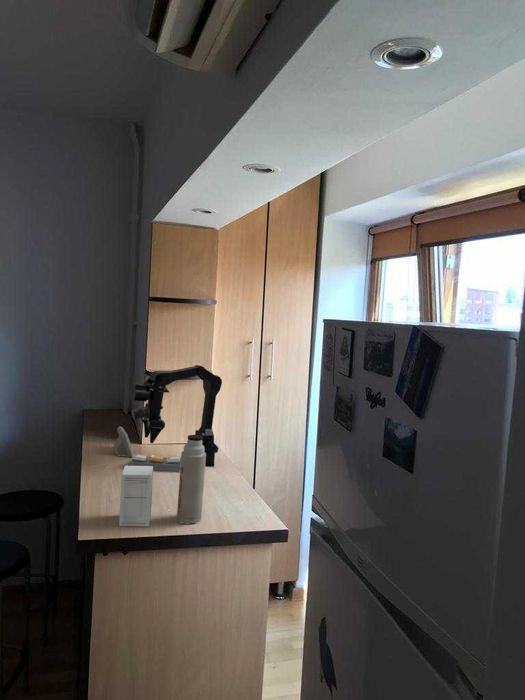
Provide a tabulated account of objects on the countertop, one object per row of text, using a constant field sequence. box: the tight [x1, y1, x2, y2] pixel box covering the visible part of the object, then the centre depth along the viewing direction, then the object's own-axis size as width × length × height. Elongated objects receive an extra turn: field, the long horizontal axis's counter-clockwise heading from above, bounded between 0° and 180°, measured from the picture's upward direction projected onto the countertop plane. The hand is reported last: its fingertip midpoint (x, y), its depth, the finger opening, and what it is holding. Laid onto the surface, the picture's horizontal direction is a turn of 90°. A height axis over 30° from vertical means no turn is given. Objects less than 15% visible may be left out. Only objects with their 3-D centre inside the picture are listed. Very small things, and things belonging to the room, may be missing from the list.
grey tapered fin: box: [113, 426, 135, 458], centre depth 247 cm, size 16×9×11 cm, turn 12°
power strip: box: [130, 455, 181, 474], centre depth 231 cm, size 20×10×3 cm, turn 95°
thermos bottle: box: [176, 434, 206, 524], centre depth 180 cm, size 8×8×28 cm
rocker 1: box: [131, 453, 146, 461], centre depth 228 cm, size 5×3×1 cm, turn 95°
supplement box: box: [118, 465, 154, 528], centre depth 176 cm, size 10×9×17 cm
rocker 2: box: [166, 455, 181, 462], centre depth 229 cm, size 5×3×1 cm, turn 95°
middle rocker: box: [149, 454, 164, 462], centre depth 229 cm, size 5×3×1 cm, turn 95°
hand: (148, 440), depth 223 cm, fingers open, 9 cm apart
